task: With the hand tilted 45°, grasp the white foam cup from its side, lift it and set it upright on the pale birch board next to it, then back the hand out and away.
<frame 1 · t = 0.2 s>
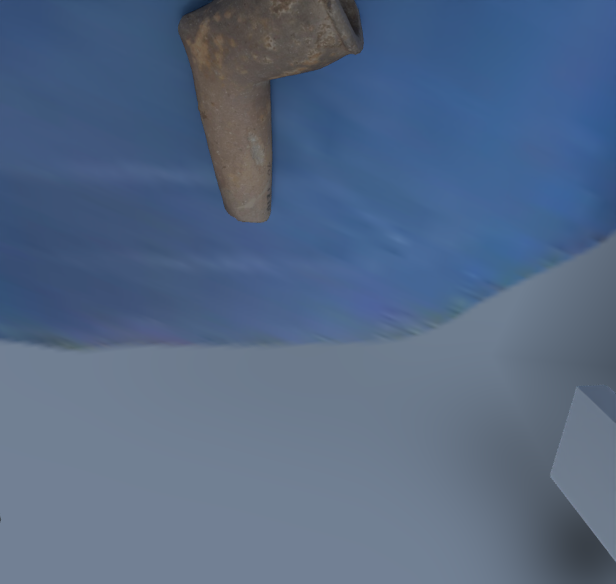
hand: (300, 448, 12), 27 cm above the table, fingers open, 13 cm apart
pipe: (275, 82, 35), on the table
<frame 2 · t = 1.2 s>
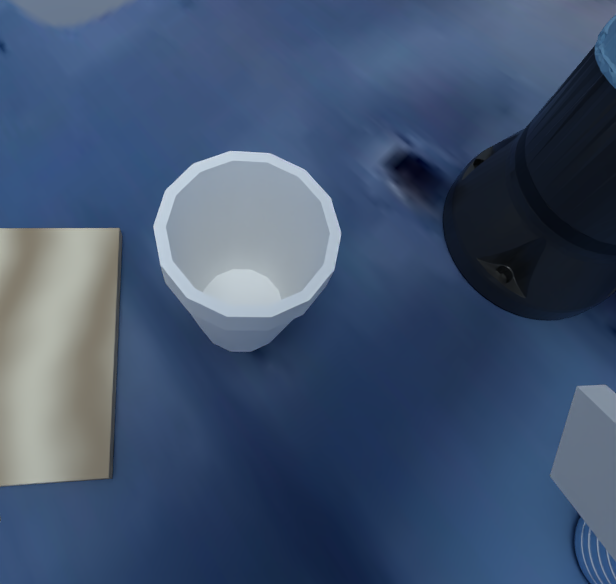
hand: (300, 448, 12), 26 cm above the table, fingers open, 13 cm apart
foam cup: (241, 310, 40), on the table
birch board: (7, 351, 37), on the table
water bottle: (613, 548, 38), on the table
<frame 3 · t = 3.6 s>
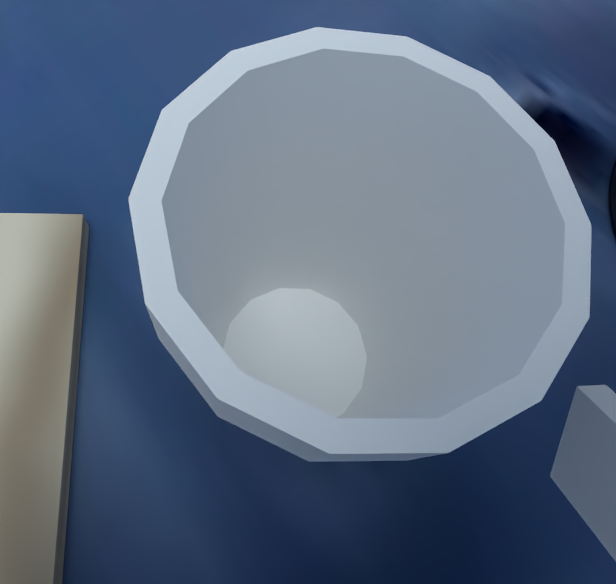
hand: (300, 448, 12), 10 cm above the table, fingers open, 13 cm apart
foam cup: (292, 360, 23), on the table
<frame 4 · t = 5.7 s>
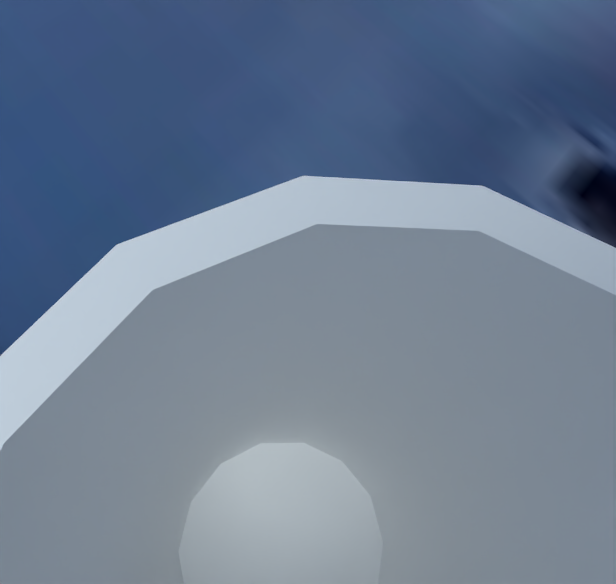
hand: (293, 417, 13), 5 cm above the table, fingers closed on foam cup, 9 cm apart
foam cup: (280, 544, 17), on the table, touching gripper
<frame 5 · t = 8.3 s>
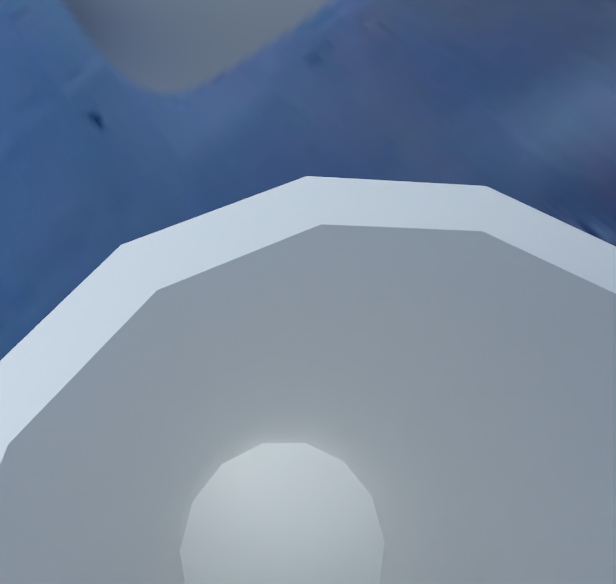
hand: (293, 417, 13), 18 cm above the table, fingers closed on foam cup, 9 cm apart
foam cup: (281, 544, 17), point 13 cm above the table, touching gripper
when the fingers open (7 cm above the table, at t = 11.1 s): foam cup drops 1 cm, resting on birch board.
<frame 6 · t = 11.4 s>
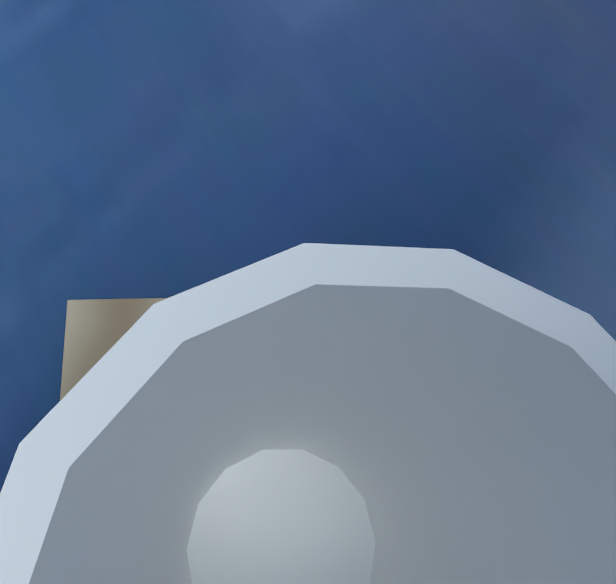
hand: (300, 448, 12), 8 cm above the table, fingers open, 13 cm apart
foam cup: (280, 543, 18), point 1 cm above the table, touching birch board
birch board: (272, 538, 19), on the table
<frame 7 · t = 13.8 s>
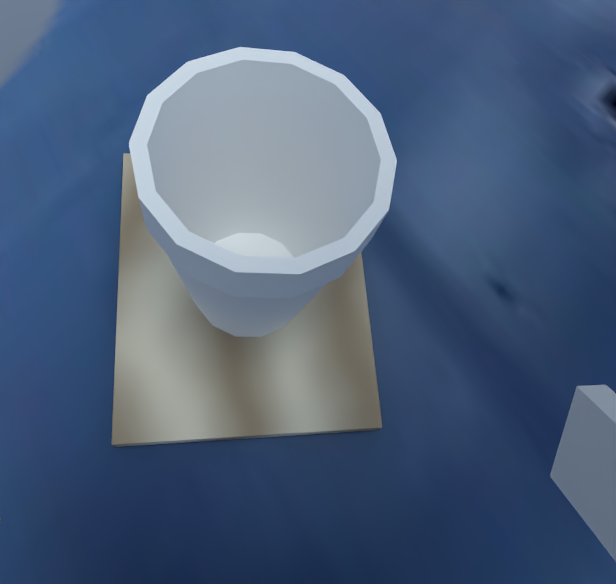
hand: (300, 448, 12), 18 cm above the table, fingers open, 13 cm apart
foam cup: (248, 285, 32), point 1 cm above the table, touching birch board
birch board: (245, 290, 33), on the table
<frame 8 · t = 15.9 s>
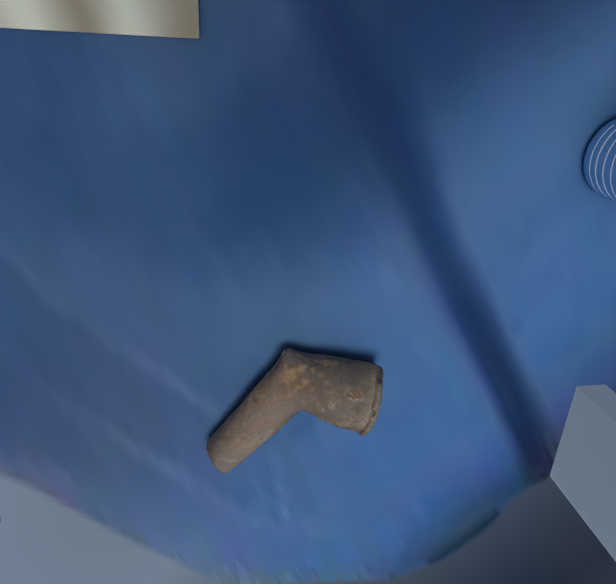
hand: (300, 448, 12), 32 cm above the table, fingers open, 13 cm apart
pipe: (292, 400, 51), on the table
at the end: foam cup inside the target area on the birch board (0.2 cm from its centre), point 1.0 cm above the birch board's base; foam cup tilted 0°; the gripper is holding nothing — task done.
